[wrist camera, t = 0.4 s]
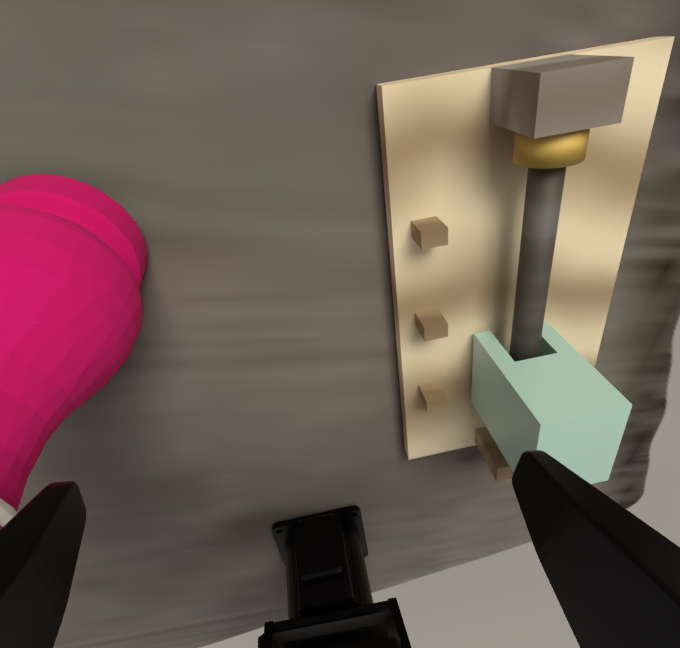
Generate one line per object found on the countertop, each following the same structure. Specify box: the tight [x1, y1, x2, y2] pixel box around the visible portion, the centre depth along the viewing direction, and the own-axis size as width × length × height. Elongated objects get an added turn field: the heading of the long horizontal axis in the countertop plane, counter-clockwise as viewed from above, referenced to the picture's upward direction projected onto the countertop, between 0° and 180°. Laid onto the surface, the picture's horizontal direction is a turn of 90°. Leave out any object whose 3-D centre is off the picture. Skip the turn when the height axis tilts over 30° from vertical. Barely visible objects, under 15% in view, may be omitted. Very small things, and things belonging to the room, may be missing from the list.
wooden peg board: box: [376, 36, 674, 482], centre depth 22 cm, size 22×12×5 cm, turn 8°
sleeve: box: [471, 319, 632, 484], centre depth 22 cm, size 5×4×7 cm
